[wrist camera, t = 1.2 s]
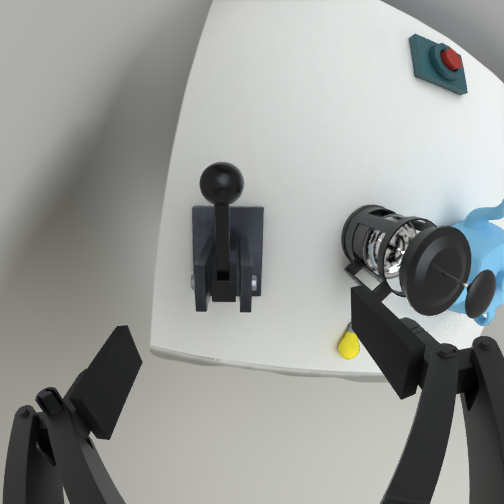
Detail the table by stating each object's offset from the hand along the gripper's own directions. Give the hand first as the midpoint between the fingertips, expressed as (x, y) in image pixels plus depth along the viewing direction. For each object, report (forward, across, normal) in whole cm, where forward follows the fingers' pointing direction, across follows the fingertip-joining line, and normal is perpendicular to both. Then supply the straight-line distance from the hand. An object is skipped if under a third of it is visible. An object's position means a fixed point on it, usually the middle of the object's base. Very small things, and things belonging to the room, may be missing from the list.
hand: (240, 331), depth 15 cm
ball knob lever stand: (+23, -2, -1) cm, 23 cm away
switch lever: (+10, -1, +4) cm, 11 cm away
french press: (+23, +18, -3) cm, 30 cm away
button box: (+23, +38, +25) cm, 51 cm away
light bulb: (+23, +14, -19) cm, 33 cm away
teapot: (+23, +36, -8) cm, 43 cm away
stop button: (+20, +38, +25) cm, 50 cm away
